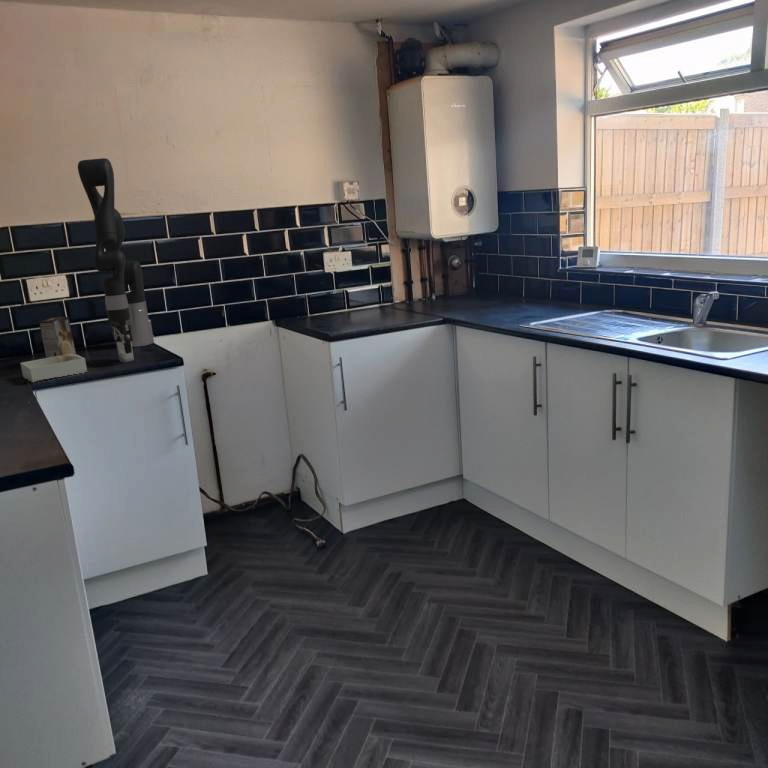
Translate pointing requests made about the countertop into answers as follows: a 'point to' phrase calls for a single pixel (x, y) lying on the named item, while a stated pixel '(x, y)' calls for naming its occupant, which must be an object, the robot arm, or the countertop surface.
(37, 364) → the tote
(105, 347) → the countertop surface
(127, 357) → the grey metal cylinder
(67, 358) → the beech cube
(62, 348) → the coffee box
